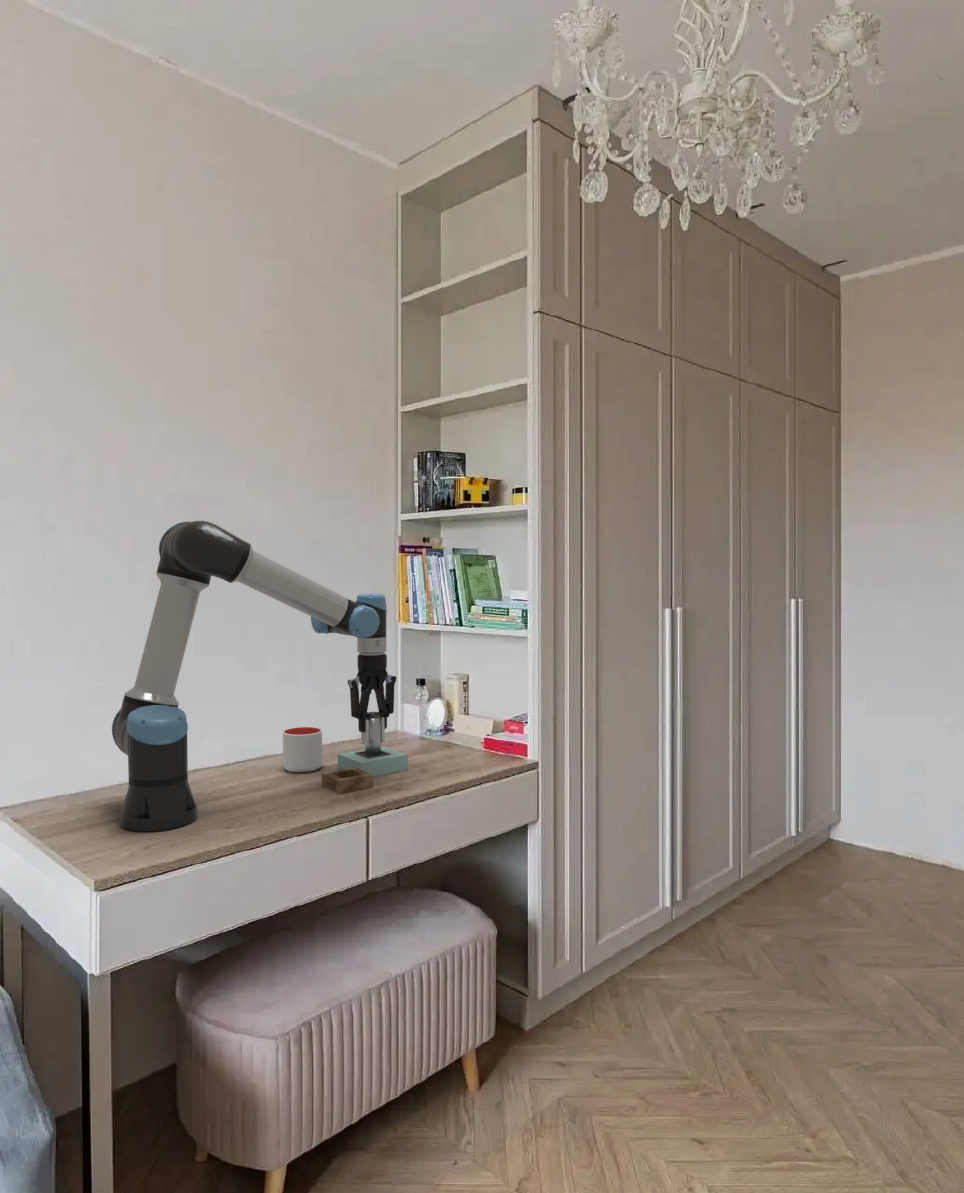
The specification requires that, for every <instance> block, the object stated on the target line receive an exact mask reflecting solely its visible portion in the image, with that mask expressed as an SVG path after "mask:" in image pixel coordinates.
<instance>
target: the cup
mask: <svg viewBox="0 0 964 1193" xmlns="http://www.w3.org/2000/svg"><path fill="white" fill-rule="evenodd" d="M282 754H283V755H282V764H283V768H284V769H285V770H286V771H288V772H290V773H310V772H313V771H314V772H315V771H318V769H320V768H321V767H322V765H323V729H321V728H319V727H313V726H312V727H311V726H301V727H300V726H299V727H292V728H291V727H290V728H287V729H285V730H283V731H282Z"/></svg>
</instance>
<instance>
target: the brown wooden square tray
mask: <svg viewBox="0 0 964 1193" xmlns="http://www.w3.org/2000/svg"><path fill="white" fill-rule="evenodd" d="M321 786H323V787H324V788H327V789H329V790H331V791H332V792H335V793H338V794H344V793H351V792H354V791H355V792H356V791H360V790H365V789H370V788H374V776H373V775H372V774H370V773H367V772H365V771H362V770H360V769H357V768H355V767H353V768H348V769H342V770H339V769H337V770H332V771H325V772H321Z"/></svg>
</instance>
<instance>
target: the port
mask: <svg viewBox="0 0 964 1193" xmlns="http://www.w3.org/2000/svg"><path fill="white" fill-rule="evenodd" d="M353 767H355V768H357V769H360V770H362V771H365V772H367V773H370V774H372V775H373V777H377V776H382V775H388V774H392V773H398V772H403V771H409V754H408V753H405V752H402V751H398V750H395V749H393V748H390V747H387V746H381V755H376V756H370V757H368V756H366V749H359V750H354V751H352V750H351V751H346V752H341V753H337V770H342V769H348V768H353Z"/></svg>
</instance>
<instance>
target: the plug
mask: <svg viewBox="0 0 964 1193" xmlns="http://www.w3.org/2000/svg"><path fill="white" fill-rule="evenodd" d="M366 719H368V720H369V745H364V746H365V749H366V756H368V757H370V756H376V755H381V747H382V742H381V713H380V712H379V711H367V716H366Z"/></svg>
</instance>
